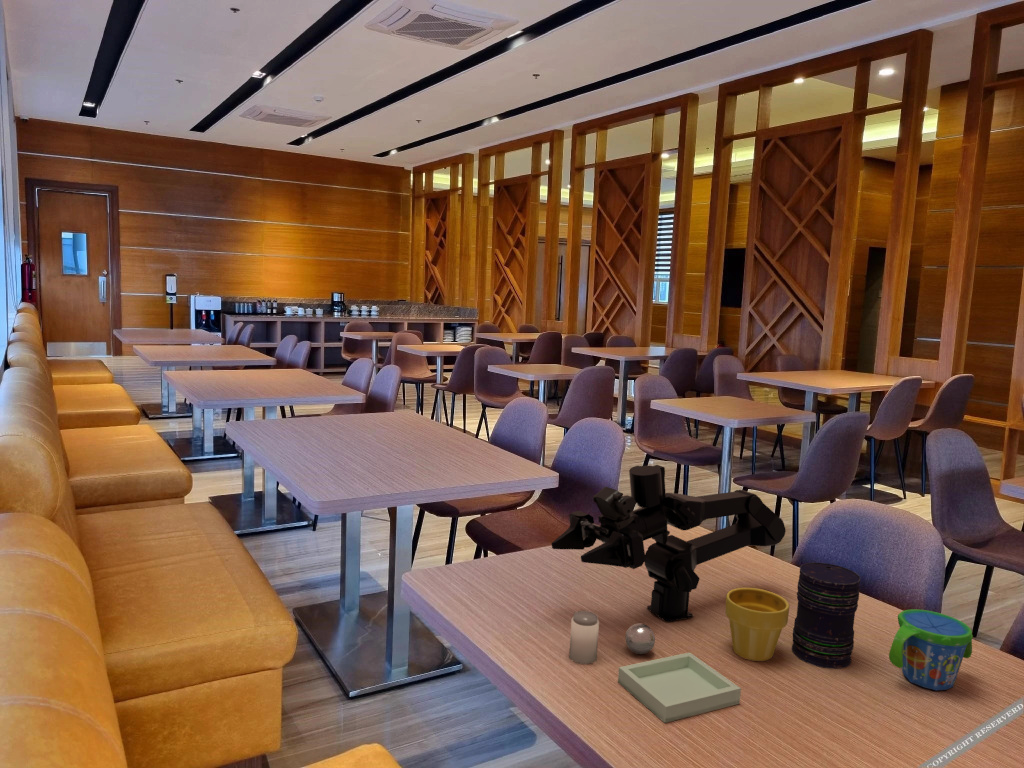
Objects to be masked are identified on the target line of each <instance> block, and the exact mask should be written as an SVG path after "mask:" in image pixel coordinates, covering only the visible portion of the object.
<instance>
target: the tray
mask: <svg viewBox="0 0 1024 768" xmlns="http://www.w3.org/2000/svg"><path fill="white" fill-rule="evenodd" d="M617 683H618V684H619V685H620V686H621V687H623V688H624V689H625V690H626V691H627V692H629V694H630V695H632V696H633V697H634V698H635V699H636V700H638V701H639V703H641V704H643V706H645V707H646V708H647V709H648V710H649V711H650V712H652V713H653V714H654V715H655V716H656V717H657V718H658V719H659V720H661V721H662V722H663V723H664V724H665V723H670V722H675V721H678V720H682V719H685V718H690V717H694V716H697V715H700V714H701V715H702V714H704V713H710V712H713V711H716V710H721V709H724V708H728V707H732V706H735V705H739V704H740V700H741V691H742V688H741V687H740V686H739V685H737V684H735V683H734V682H733V681H732V680H730V679H729V678H727V677H725V676H724V675H723V674H721V673H720V672H718V670H715V669H714V668H712V667H711V666H710V665H709V664H708V663H705V661H703V660H702V659H700V658H698V657H697V656H695V654H693V653H691V652H690V651H689V652H685V653H681V654H680V653H679V654H676V655H671V656H666V657H665V656H664V657H661V658H657V659H652V660H647V661H642V662H638V663H633V664H628V665H624V666H619V667H618V679H617Z"/></svg>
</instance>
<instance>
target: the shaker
mask: <svg viewBox="0 0 1024 768" xmlns="http://www.w3.org/2000/svg"><path fill="white" fill-rule="evenodd" d="M599 627H600V620H599V619H598V615H597V614H596V613H594V612H592V611H589V610H578V611H575V612H574V613H573V616H572V617H571V620H570V638H569V639H570V640H569V655H568V657H569V660H571V661H572V660H573V661H572V662H574V661H575V662H574V663H576V662H577V664H579V665H580V664H581V665H591V664H593V662H594V663H596V661H597V658H598V646H599V645H598V643H599ZM590 663H591V664H590Z"/></svg>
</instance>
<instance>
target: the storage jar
mask: <svg viewBox="0 0 1024 768" xmlns="http://www.w3.org/2000/svg"><path fill="white" fill-rule="evenodd" d="M860 582H861V576H860V574H858V573H857V572H855V571H853V570H851V569H849V568H847V567H844V566H840V565H836V564H830V563H825V562H809V563H808V562H807V563H804V564H801V565H800V567H799V575H798V581H797V592H796V599H797V608H796V617H795V618H794V624H793V628H792V645H791V652H792V654H793V655H794V656H795V657H797V659H799V660H801V661H803V662H804V663H807V664H809V665H812V666H814V667H818V668H823V669H828V670H829V669H832V670H833V669H834V670H835V669H836V670H839V669H845V668H847V667H849V666H850V665H851V663H852V657H851V656H852V654H853V650H854V644H855V640H854V638H855V630H854V625H855V614H856V612H857V610H858V606H859V604H858V602H859V600H860V584H861V583H860Z"/></svg>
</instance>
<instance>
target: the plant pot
mask: <svg viewBox="0 0 1024 768" xmlns="http://www.w3.org/2000/svg"><path fill="white" fill-rule="evenodd" d="M789 613H790V603H789V601H788V600H787V599H786V598H785V597H783V596H781V595H779V594H777V593H775V592H772V591H771V590H770V591H769V590H766V589H762V588H756V587H738V588H733V589H731V590H729V591H728V592H727V594H726V595H725V615H726V617H727V618H728V619H729V620H728V621H729V627H730V637H731V642H732V643H731V644H732V649H733V653H735V654H736V655H738V656H739V657H741V658H743V659H745V660H748V661H755V662H764V661H768V660H770V659H772V657H773V656H774V653H775V650H776V647H777V644H778V642H779V638H780V636H781V634H782V630H783V629H784V628H785V627H786V626H787V625H788V621H789Z"/></svg>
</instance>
